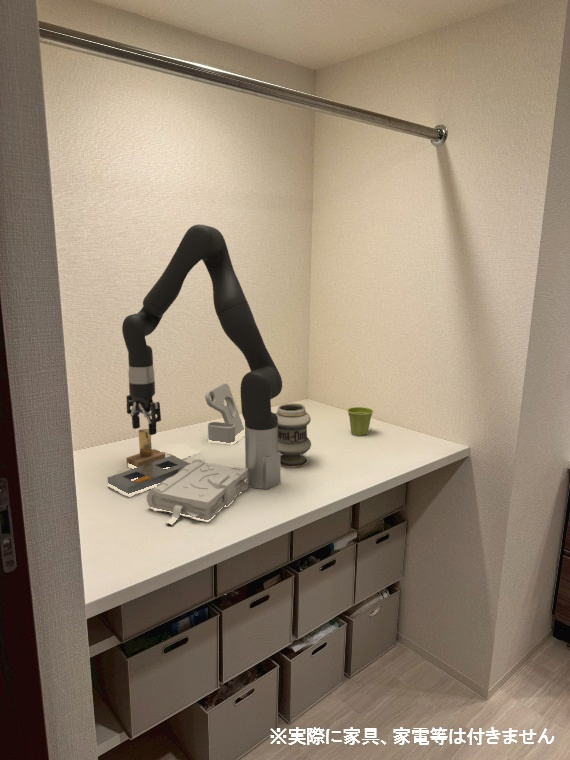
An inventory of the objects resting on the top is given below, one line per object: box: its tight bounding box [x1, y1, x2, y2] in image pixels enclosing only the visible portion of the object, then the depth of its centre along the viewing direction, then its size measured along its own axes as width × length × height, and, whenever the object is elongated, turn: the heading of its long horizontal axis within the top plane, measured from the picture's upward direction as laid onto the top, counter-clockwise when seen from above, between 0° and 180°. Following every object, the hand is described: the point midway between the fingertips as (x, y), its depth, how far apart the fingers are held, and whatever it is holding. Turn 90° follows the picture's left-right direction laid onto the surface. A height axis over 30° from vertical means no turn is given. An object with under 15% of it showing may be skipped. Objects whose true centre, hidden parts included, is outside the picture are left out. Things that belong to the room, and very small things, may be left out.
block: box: [126, 448, 166, 467], centre depth 169 cm, size 6×10×3 cm, turn 139°
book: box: [146, 458, 249, 520], centre depth 144 cm, size 19×28×8 cm
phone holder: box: [204, 383, 245, 443], centre depth 194 cm, size 17×10×18 cm, turn 161°
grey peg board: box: [107, 455, 192, 494], centre depth 158 cm, size 10×22×3 cm, turn 139°
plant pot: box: [346, 406, 374, 436], centre depth 198 cm, size 9×9×9 cm
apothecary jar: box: [274, 402, 312, 468], centre depth 171 cm, size 12×12×18 cm
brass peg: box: [138, 428, 153, 458], centre depth 168 cm, size 4×4×8 cm
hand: (144, 431), depth 168 cm, fingers open, 8 cm apart
